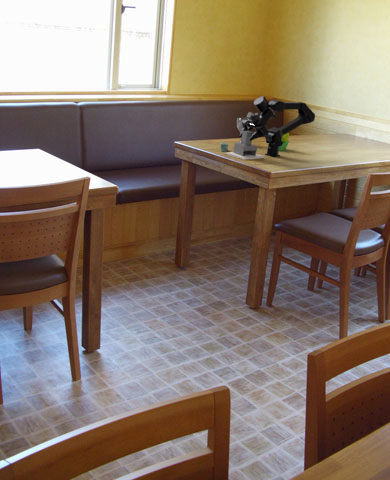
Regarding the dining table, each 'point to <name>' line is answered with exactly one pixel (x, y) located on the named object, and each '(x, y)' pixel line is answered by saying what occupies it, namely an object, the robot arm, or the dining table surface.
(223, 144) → the block
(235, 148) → the cover
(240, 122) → the wine glass
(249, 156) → the board
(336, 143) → the dining table surface
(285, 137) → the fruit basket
